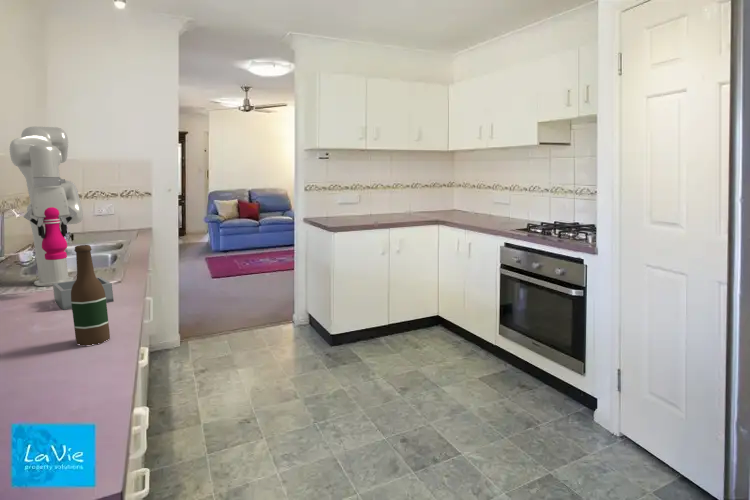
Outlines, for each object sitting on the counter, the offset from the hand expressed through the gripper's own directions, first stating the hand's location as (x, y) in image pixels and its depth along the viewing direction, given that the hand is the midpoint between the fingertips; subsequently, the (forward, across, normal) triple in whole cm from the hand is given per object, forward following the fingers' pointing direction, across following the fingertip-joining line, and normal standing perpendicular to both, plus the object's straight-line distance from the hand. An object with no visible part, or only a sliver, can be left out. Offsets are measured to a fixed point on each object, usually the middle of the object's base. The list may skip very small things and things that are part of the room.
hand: (53, 236), depth 161 cm
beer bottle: (+19, +3, +61) cm, 64 cm away
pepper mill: (+8, 0, 0) cm, 8 cm away
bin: (+20, -4, +16) cm, 26 cm away
